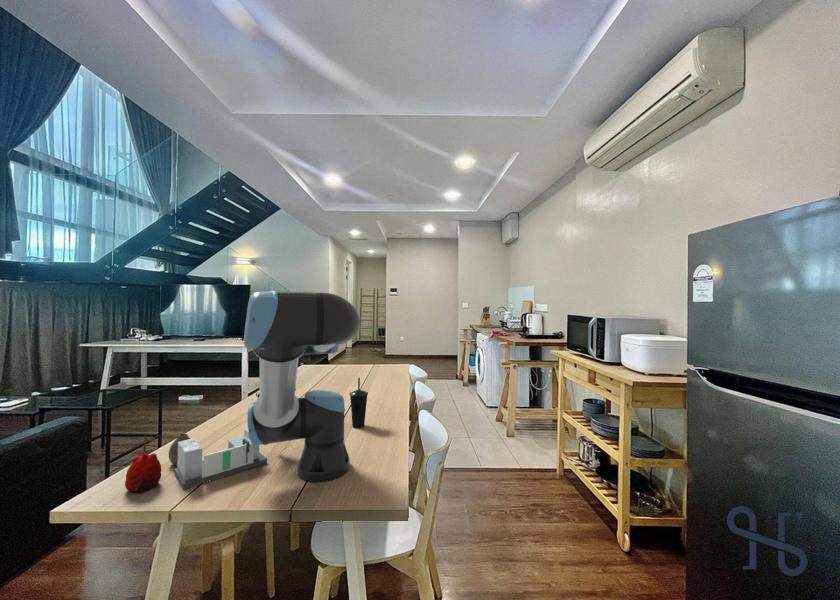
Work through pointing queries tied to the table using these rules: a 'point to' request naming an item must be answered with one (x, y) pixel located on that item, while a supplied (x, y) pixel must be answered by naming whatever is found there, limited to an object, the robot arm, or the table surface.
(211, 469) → the base
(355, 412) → the drinking cup
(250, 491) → the table surface
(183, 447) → the white vise jaw block
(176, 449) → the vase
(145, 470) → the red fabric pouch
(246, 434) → the gauge plunger
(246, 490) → the table surface
